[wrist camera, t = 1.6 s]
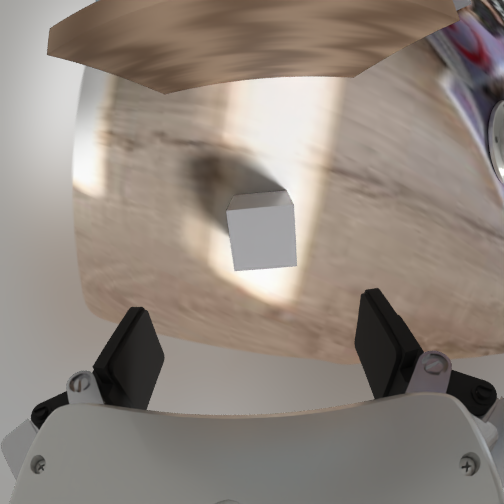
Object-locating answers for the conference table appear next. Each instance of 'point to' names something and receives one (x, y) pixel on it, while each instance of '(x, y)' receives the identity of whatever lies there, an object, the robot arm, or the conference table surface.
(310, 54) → the stand
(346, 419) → the robot arm
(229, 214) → the grey cube-like block
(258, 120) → the conference table surface
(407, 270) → the conference table surface
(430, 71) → the conference table surface
